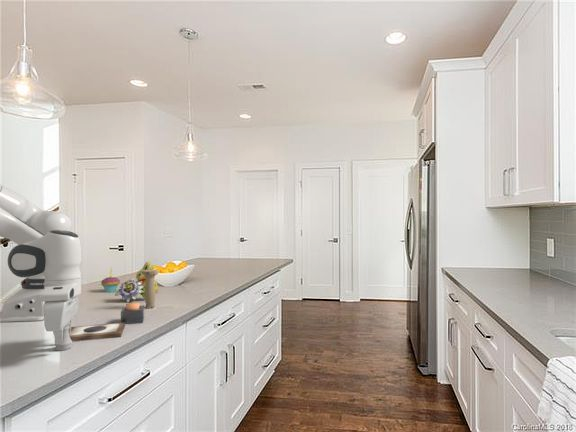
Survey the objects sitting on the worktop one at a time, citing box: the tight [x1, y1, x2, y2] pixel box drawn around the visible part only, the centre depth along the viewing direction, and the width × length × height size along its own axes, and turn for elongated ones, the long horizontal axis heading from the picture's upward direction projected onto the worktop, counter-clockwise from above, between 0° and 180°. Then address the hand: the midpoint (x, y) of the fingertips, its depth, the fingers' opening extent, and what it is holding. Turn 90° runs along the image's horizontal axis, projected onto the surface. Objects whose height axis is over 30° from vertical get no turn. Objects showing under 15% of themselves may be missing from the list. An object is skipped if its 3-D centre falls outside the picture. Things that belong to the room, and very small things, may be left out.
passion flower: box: [114, 277, 145, 304], centre depth 167 cm, size 11×11×12 cm
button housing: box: [120, 305, 145, 325], centre depth 132 cm, size 7×7×4 cm
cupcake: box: [100, 266, 121, 293], centre depth 187 cm, size 9×8×12 cm
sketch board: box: [69, 322, 126, 342], centre depth 118 cm, size 16×12×2 cm
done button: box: [125, 302, 140, 310], centre depth 132 cm, size 4×4×3 cm
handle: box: [142, 269, 159, 309], centre depth 153 cm, size 5×6×15 cm
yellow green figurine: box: [135, 261, 159, 293], centre depth 184 cm, size 7×11×15 cm, turn 86°
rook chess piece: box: [53, 321, 73, 352], centre depth 104 cm, size 4×4×8 cm
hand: (63, 338), depth 104 cm, fingers open, 7 cm apart
